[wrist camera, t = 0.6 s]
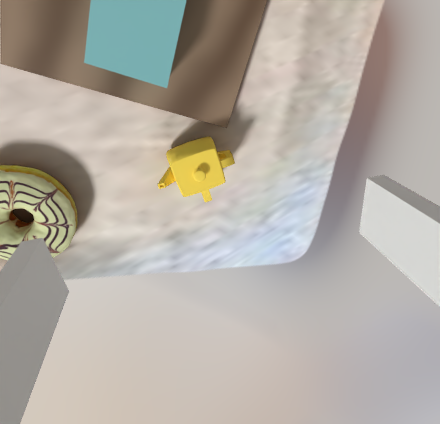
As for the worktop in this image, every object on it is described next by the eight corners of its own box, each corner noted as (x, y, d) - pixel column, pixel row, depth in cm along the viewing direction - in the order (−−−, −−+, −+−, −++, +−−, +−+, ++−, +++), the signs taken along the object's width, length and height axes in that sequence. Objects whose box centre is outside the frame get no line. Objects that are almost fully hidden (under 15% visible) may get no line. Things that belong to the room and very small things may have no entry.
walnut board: (6, 62, 26) (0, 63, 25) (8, -163, 20) (0, -174, 19) (224, 125, 32) (226, 128, 31) (273, -33, 26) (278, -36, 25)
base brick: (95, 59, 26) (84, 62, 21) (111, -72, 22) (101, -100, 18) (164, 81, 28) (167, 88, 23) (189, -36, 24) (198, -54, 20)
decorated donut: (-20, 247, 33) (-38, 269, 30) (-41, 154, 29) (-66, 168, 25) (82, 249, 36) (75, 270, 33) (78, 165, 31) (69, 179, 28)
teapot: (169, 198, 35) (171, 220, 30) (149, 152, 32) (148, 170, 27) (233, 174, 35) (245, 193, 31) (220, 127, 32) (231, 141, 28)
